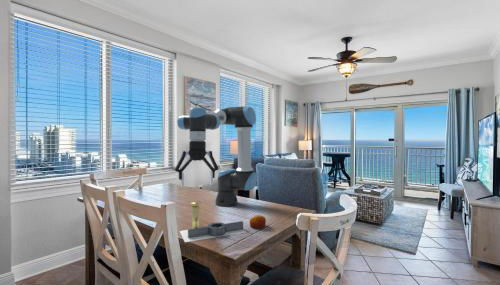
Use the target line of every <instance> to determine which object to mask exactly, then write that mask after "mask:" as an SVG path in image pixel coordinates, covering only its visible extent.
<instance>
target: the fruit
mask: <svg viewBox="0 0 500 285" xmlns="http://www.w3.org/2000/svg"><path fill="white" fill-rule="evenodd" d="M266 224H267V219H266V217H265V216H263V215H262V214H257V215H254V216H251V218H250V219H249V226H250V228H251V229H254V230H262V229H265V227H266Z"/></svg>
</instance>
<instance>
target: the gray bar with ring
mask: <svg viewBox="0 0 500 285" xmlns="http://www.w3.org/2000/svg"><path fill="white" fill-rule="evenodd" d="M187 230H188V238H192V237H198V236H205V235H209V236H215V238H218V237H217V236H221V237H223V236H222V235H224V234H225V233H226V232H230V231H236V230H244V222H243V221H236V222H234V221H233V222H228V223H224V222H211V223H208V224H207V226H199V228H192V227H191V228H187Z"/></svg>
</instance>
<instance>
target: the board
mask: <svg viewBox="0 0 500 285" xmlns="http://www.w3.org/2000/svg"><path fill="white" fill-rule="evenodd" d="M179 233H180V235H181V237H182V239H183V241H184V243H191V242H196V241H203V240H207V239H214V238H220V237H226V236H233V235H237V234H244V233H245V234H246V233H247V231H246V230H245V229H243V230H236V231H230V232H226V233H225V234H224V235H222V236H217V237H215V236H209V235H205V236H198V237H192V238H188V229H184V230H179Z"/></svg>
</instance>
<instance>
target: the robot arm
mask: <svg viewBox="0 0 500 285" xmlns="http://www.w3.org/2000/svg"><path fill="white" fill-rule="evenodd" d="M176 122H177V126H178V128H179V129H181V130H186V131H187V130H189V138H188V139H189V140H190V141H189V142H188V143H189V145H188V151H185V150H182V151H181V156H180V158H179V160H178V162H177V164H176V165H175V167H174V172H176V173H178V180H179V181H180V187H181V188H184V186H185V183H184V182H185V180H184V179H185V175H184V174H185V173H184V170H185V169H186V168H187V167H188V166H189V165H190V164H191V162H193V161H196V162H197V161H200V162H201V161H203V162H204V164H205V165H206V166H207V167H208V169H210V171H209V186H213V184H214V182H213V179H215V178H216V177H215V176H216V174H215V173H216V171H218V173H217V193H216V194H217V195H216V197H215V200H214V203H215V204H214V205H215V206H218V207H233V206H236V205H238V202H239V201H238V197H237V193H236V190H239V191H243V190H244V191H253V190H254V189H255V187H256V185H257V182H258V175H257V172H255V171H254V168H253V167H252V146H251V145H252V143H251V142H252V140H251V139H252V138H251V135H252V134H251V133H252V132H251V131H252V129H253V127H254V125H255V124H256V123H257V115H256V112H255V110H254V108H253V107H252V106H245V105H244V106H230V107H226V108H222V109H221V108H220V109H216V110H215V111H212V112H210V111H209V112H207V110H206V108H205V107H198V106H197V107H191V108H190V109H189V114H183V115H179V117H178V118H177V119H176ZM222 125H225V126H227V125H228V126H229V125H230V126H234V129H235V130H236V132H237V133H236V134H237V136H236V137H237V168H226V169H222V170H221V169H220V170H219V166H218V164H217V162H216V159H215V158H214V155H213V150H208V151H207V150H206V147H207V146H206V144H207V143H206V139H207V138H206V137H207V134H206V132H207V130H211V131H213V130H217V129H218V128H219V127H220V126H222ZM206 155H207V156H208V157H209V159H210V162H211V163H210V162H209V160H207V158H206ZM187 156H189V157H188V158H187V160H186V161H185V163H184V164H183V165H182V163H183V162H184V160H185V159H186V157H187Z"/></svg>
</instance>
